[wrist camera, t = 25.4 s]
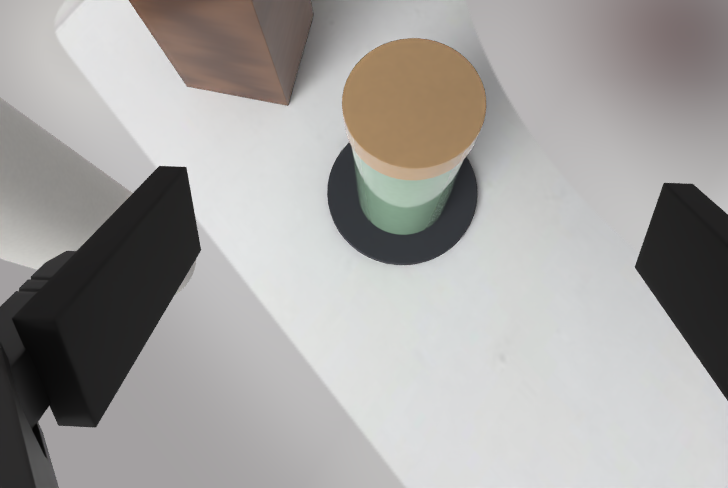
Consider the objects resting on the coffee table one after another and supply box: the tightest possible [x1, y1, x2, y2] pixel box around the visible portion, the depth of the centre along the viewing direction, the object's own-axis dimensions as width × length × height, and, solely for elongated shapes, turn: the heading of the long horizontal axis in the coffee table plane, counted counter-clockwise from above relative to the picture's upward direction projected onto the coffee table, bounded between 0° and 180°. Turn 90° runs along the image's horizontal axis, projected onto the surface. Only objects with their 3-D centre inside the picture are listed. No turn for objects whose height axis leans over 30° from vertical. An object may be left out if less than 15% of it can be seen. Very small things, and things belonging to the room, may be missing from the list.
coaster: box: [327, 143, 477, 265], centre depth 35 cm, size 10×10×1 cm
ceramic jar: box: [342, 38, 486, 235], centre depth 29 cm, size 6×6×12 cm
